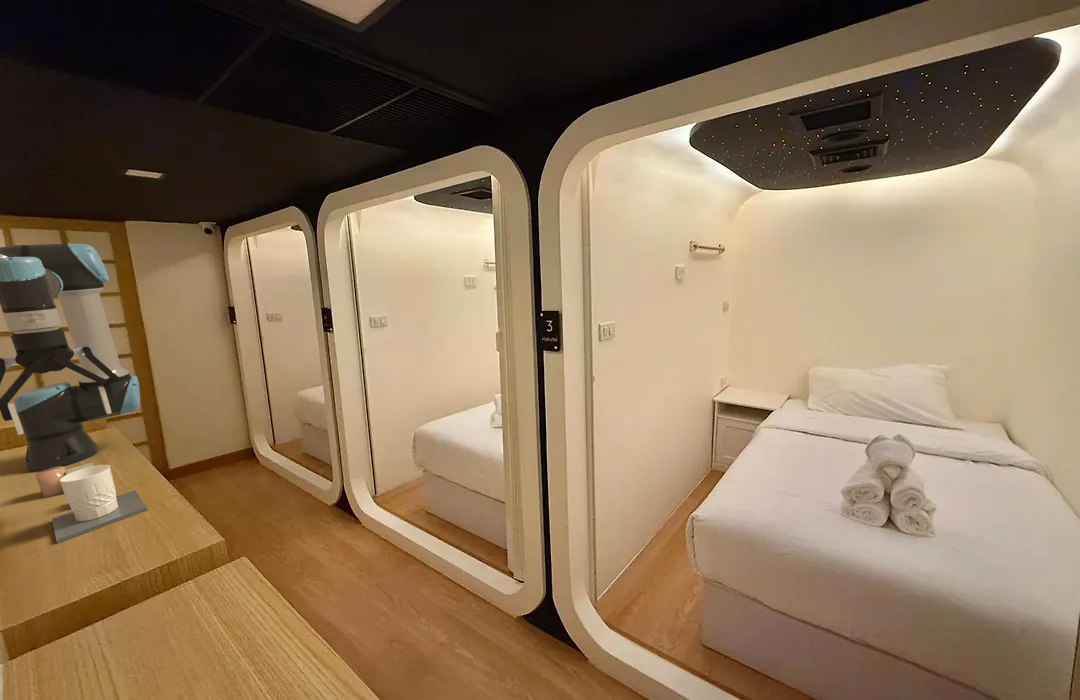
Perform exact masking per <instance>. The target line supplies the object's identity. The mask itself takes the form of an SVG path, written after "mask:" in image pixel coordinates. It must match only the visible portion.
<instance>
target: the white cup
mask: <svg viewBox="0 0 1080 700" xmlns="http://www.w3.org/2000/svg"><path fill="white" fill-rule="evenodd" d="M59 482H60V484H61V486H62V489H63V491H64V493H63V494H64V497H65V499H66V501H67V502H68V506H69V507H70V509H71V510H72V511H73V513H74V515H75V518H76V520H77V521H81V522H82V521H89V520H93V519H96V518H100V517H102V516H105V515H107V514H109V513H111V512H113V511H114V510H115V509H117V508H118V504H117V500H116V496H117V492H116V486H115V482H114V477H113V473H112V469H111V465H109V464H98V465H94V466H92V467H88V468H84V469H81V470H77V471H75V472H72V473H70V474H67V475H65V476H63V477H62V478H61V479H60V480H59Z"/></svg>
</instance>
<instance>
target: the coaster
mask: <svg viewBox="0 0 1080 700" xmlns="http://www.w3.org/2000/svg"><path fill="white" fill-rule="evenodd" d="M116 500H117V504H118V508H117V509H115V510H114V511H113V512H111V513H109V514H107V515H105V516H102V517H100V518H96V519H93V520H89V521H82V522H81V521H77V520H76V518H75V515H74V513H73V510H72V511H69V512H67V513H63V514H61V515H57V516H55V517H52V518H51V521H52V522H51V523H52V526H53V531H54V535H55V540H56V543H57V544H60V543H63V542H65V541H68V540H71V539H74V538H77V537H80V536H82V535H84V534H87V533H89V532H92V531H94V530H98V529H101V528H103V527H106V526H108V525H111V524H114V523H116V522H118V521H122V520H124V519H127V518H130V517H132V516H133V517H134V516H135V515H138V514H141V513H143V512H146V511H148V508H147V506H146V504H145V503H144V501H143V500H142V498H141V497H140V495H139V493H137V491H136V490H135V489H134V490H131V491H129V492H126V493H122V494H120V495H116Z"/></svg>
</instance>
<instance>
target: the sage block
mask: <svg viewBox="0 0 1080 700" xmlns="http://www.w3.org/2000/svg"><path fill="white" fill-rule="evenodd" d="M92 466H95V465H94V463H93V462H90V463H86V464H81V465H79V466H75V467H72V468H71V467H70V468H68V469H65V470H66V475H67V474H70V473H72V472H75V471H77V470H81V469H84V468H88V467H92Z"/></svg>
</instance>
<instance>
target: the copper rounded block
mask: <svg viewBox="0 0 1080 700" xmlns="http://www.w3.org/2000/svg"><path fill="white" fill-rule="evenodd" d="M66 470H67V469H66V467H65V465H64V466H58V467H53V468H49V469H46V470H39V471H37V473H35V478H36V482H37V484H38V487H39V490H40V493H41V495H42V498H49V497H50V498H51V497H54V496H58V495H61V494H64V491H63V489H62V486H61V484H60V482H59V480H60V479H61V478H62V477H63V476H65V475H66Z"/></svg>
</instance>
